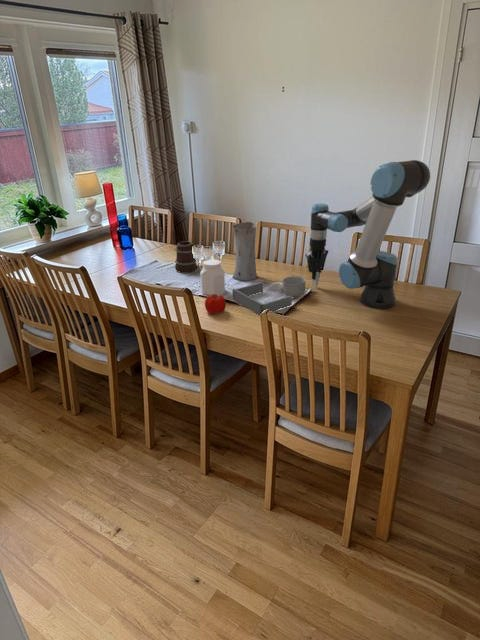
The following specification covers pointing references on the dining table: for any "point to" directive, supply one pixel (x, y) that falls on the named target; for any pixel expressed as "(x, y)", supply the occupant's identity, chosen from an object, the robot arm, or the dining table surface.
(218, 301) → the tomato
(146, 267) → the dining table surface
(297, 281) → the teacup
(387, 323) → the dining table surface
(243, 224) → the vase
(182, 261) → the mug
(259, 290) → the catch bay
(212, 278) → the jar
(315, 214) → the robot arm
